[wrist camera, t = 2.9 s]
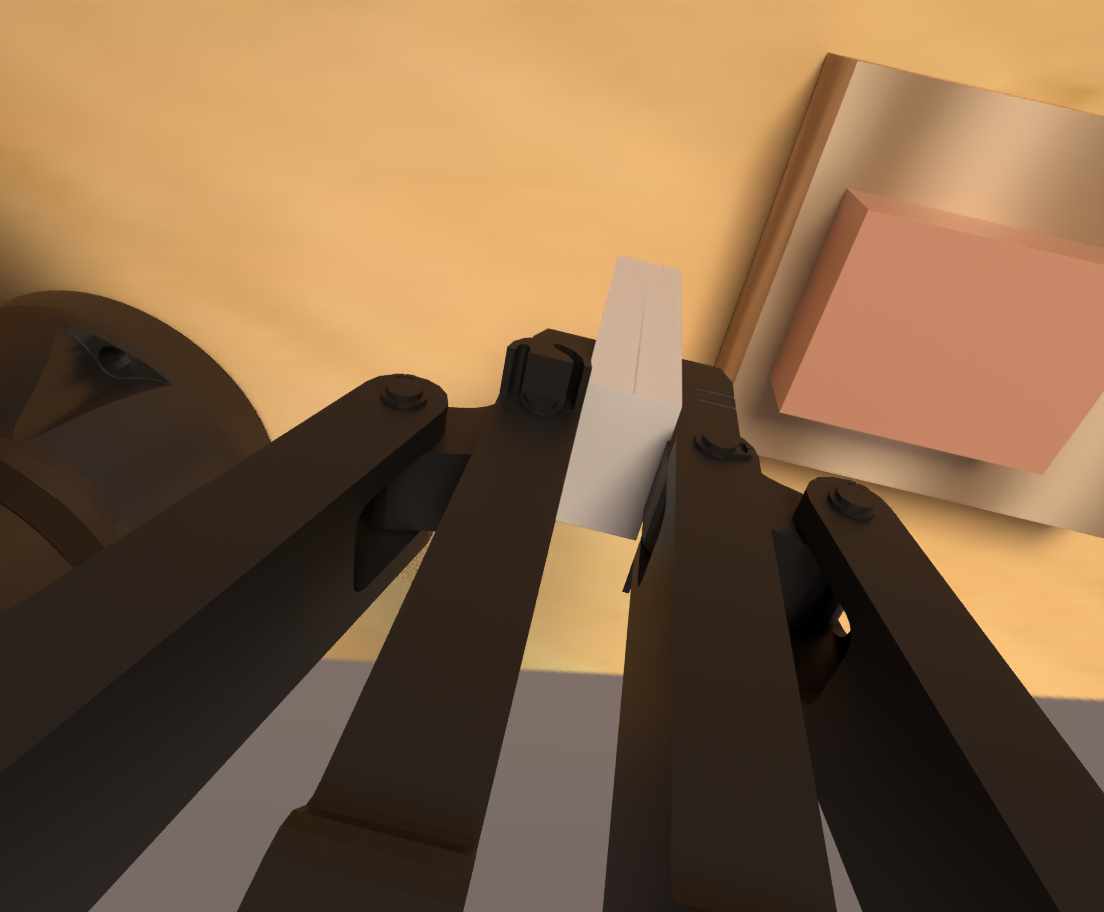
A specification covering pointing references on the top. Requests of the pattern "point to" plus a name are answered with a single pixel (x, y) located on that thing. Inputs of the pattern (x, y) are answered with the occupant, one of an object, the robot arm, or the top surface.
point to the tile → (947, 333)
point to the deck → (941, 183)
